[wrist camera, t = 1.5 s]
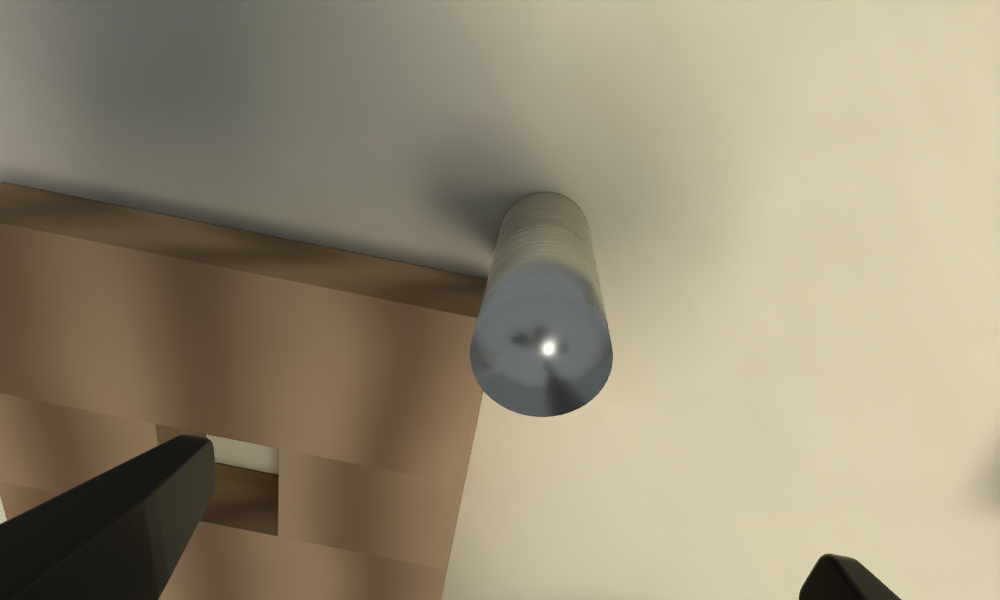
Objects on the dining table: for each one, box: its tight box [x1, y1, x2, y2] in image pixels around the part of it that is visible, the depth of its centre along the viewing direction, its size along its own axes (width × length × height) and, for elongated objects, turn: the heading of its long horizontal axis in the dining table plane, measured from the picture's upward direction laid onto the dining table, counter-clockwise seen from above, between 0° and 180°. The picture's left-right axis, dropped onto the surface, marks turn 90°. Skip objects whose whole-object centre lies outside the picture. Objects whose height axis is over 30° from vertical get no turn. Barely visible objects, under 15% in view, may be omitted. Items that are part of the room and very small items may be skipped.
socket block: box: [0, 183, 487, 600], centre depth 22 cm, size 18×18×3 cm
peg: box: [470, 192, 613, 417], centre depth 15 cm, size 3×3×8 cm
